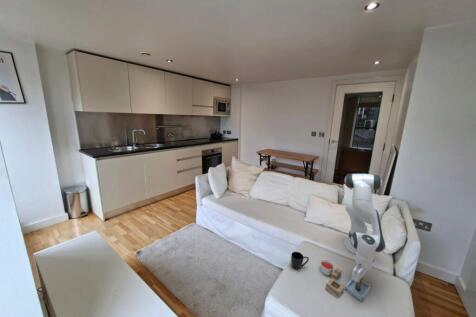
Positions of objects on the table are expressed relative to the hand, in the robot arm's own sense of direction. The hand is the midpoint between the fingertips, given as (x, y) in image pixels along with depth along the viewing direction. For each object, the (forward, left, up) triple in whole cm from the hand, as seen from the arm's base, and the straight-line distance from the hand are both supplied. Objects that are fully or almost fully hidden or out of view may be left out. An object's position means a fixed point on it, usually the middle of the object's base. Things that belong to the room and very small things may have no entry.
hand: (359, 279), depth 122 cm
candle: (+2, -20, -8) cm, 21 cm away
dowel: (0, 0, -7) cm, 7 cm away
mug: (+14, -34, -8) cm, 38 cm away
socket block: (+12, -9, -8) cm, 17 cm away
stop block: (+2, -13, -8) cm, 15 cm away
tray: (0, 0, -8) cm, 8 cm away
